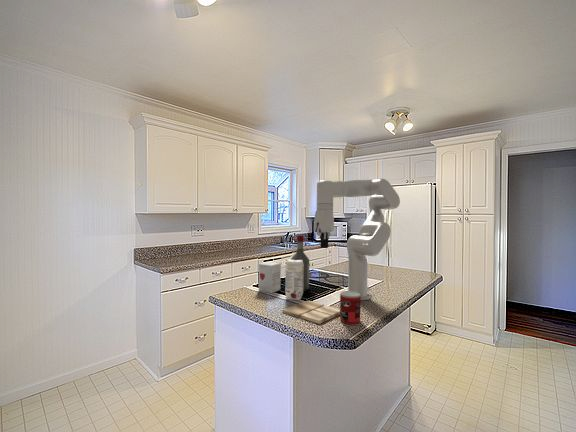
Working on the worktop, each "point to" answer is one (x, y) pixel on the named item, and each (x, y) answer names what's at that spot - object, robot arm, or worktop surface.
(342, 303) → the canned food
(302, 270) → the juice carton
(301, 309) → the brown wooden board
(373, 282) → the worktop surface
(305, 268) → the liquor
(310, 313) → the plank
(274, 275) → the supplement box
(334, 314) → the plank
